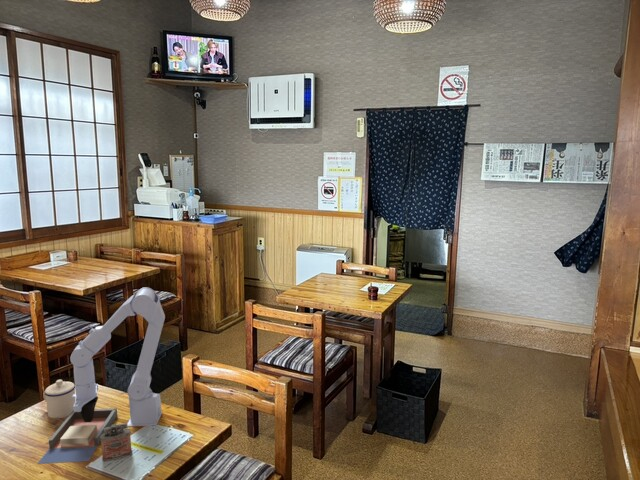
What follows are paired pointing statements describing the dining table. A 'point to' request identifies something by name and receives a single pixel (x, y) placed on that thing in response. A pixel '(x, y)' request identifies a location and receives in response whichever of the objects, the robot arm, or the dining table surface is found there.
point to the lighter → (116, 442)
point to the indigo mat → (68, 455)
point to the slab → (78, 435)
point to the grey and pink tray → (100, 419)
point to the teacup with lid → (60, 399)
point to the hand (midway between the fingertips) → (88, 421)
